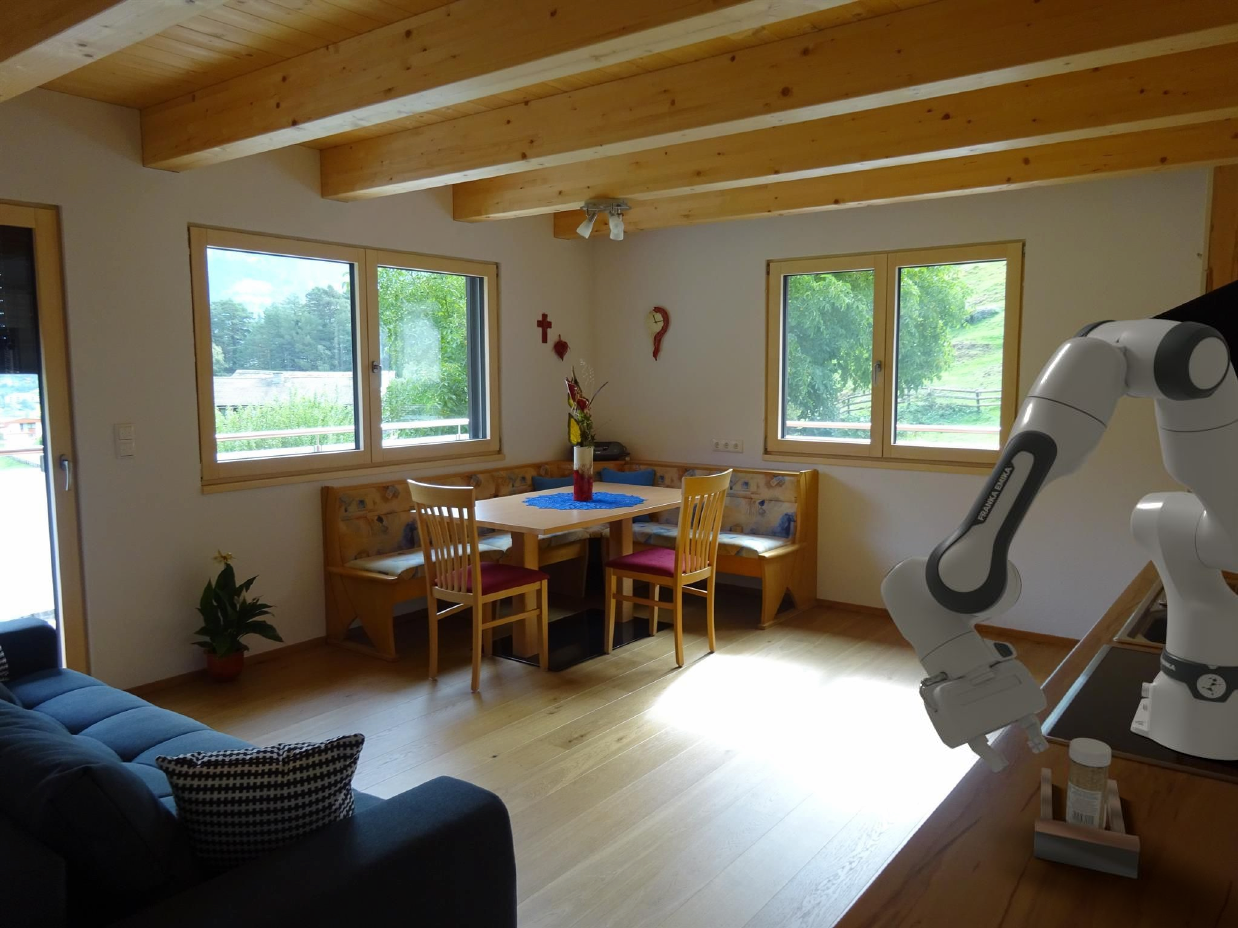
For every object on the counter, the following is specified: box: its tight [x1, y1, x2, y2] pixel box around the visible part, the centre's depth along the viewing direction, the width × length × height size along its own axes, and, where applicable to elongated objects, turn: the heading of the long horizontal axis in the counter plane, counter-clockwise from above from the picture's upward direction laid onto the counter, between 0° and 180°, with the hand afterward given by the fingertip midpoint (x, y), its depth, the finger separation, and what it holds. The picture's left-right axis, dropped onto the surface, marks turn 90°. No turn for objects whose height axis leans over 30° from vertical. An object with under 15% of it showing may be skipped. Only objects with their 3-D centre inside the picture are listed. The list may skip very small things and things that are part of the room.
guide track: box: [1033, 767, 1141, 880], centre depth 119 cm, size 22×11×4 cm, turn 155°
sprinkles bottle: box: [1065, 737, 1112, 830], centre depth 113 cm, size 5×5×14 cm
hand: (1023, 759), depth 119 cm, fingers open, 8 cm apart
